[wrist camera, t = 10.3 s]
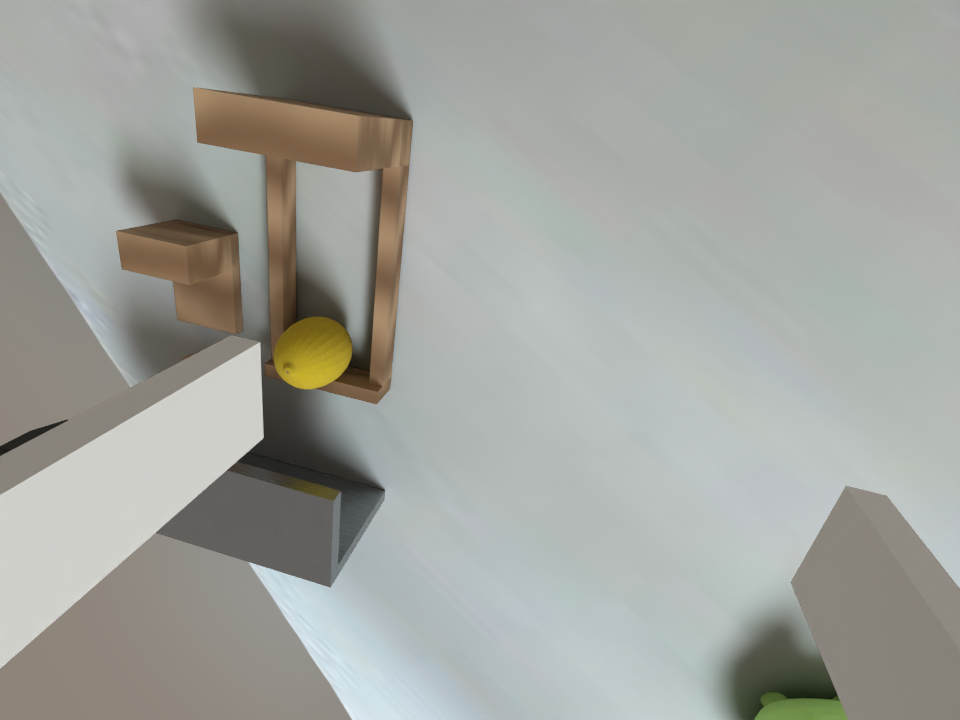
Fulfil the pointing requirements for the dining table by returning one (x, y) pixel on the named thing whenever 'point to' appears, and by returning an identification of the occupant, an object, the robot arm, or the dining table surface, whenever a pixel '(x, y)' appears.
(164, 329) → the dining table surface
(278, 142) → the wooden frame
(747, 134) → the dining table surface
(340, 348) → the lemon
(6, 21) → the dining table surface
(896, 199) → the dining table surface
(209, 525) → the shelf
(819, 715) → the green round lobed piece
